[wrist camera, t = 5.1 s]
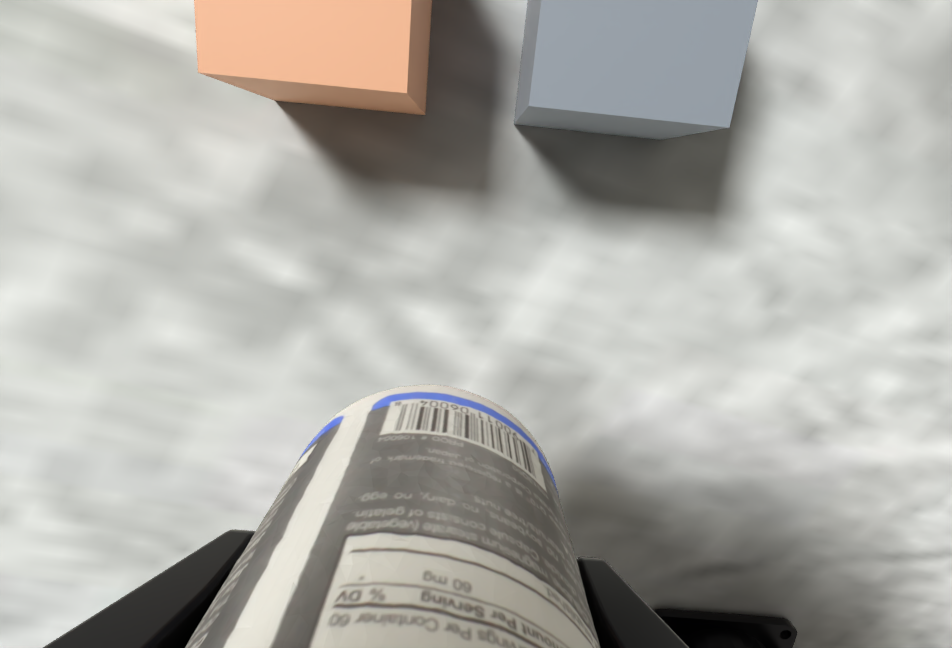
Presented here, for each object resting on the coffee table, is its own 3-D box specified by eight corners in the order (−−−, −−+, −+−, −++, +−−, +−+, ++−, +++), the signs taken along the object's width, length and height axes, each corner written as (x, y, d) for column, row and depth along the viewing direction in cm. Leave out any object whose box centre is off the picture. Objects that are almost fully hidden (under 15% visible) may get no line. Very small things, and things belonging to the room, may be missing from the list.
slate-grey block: (691, -29, 16) (783, -115, 11) (659, 139, 17) (729, 127, 13) (532, -48, 16) (558, -142, 11) (513, 124, 17) (528, 106, 13)
